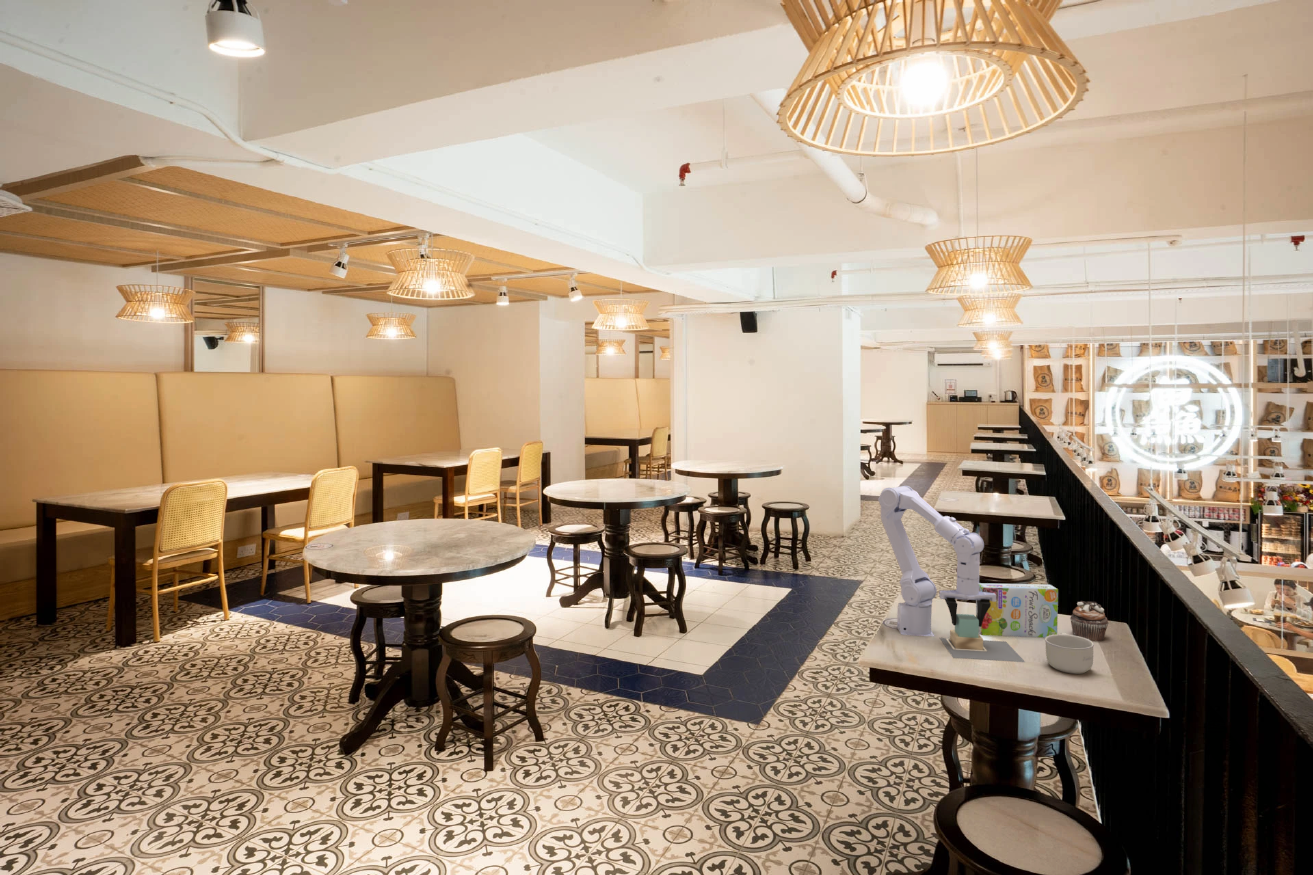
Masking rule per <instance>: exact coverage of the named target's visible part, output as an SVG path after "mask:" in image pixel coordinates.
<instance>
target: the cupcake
mask: <svg viewBox="0 0 1313 875" xmlns="http://www.w3.org/2000/svg"><path fill="white" fill-rule="evenodd" d="M1076 604H1077V606H1076V607H1075V608H1074V609H1073V610H1072V614H1071V615H1070V617H1069V619H1070V624H1071V629H1072V635H1074V636H1079V637H1083V638H1086V639H1089V640H1090V641H1092V642H1097V641H1099V642H1101V641H1104V640H1105V636H1106V631H1107V628H1108V626H1109V619H1108V618H1107V617H1106V615H1105V614H1106V613H1105V609H1104V608H1103V607H1102V605H1101V604H1098V603H1097V601H1083V600H1080V601H1077V603H1076Z"/></svg>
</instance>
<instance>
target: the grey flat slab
mask: <svg viewBox="0 0 1313 875" xmlns="http://www.w3.org/2000/svg"><path fill="white" fill-rule="evenodd" d="M939 639H940V641H941V642H942V643H943V645H944V647H945V648H946V650H947V652H948V653H949V654H950V655H951V657H952V658H953V659H963V660H964V659H965V660H966V659H967V660H980V661H981V660H983V661H996V662H998V661H999V662H1015V663H1016V662H1017V663H1026V660H1024V659H1023V658H1022V657H1021V655H1019V654H1018V653H1017V652H1016V650H1015V649H1014V648H1013V647H1012V646H1011V645H1010V644H1009V643H1008V642H1007V641H1004V640H1002V641H1001V640H986V639H983V650H973V649H956V648H955V646H954V645H953V644H952V642H951V641H950V637H948V638H947V637H939Z"/></svg>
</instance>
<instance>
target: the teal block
mask: <svg viewBox="0 0 1313 875" xmlns="http://www.w3.org/2000/svg"><path fill="white" fill-rule="evenodd" d="M956 619H957V623H956V625H954V630H955V632H956V633H957V635H958V636H959V637H970V638H978V634H980V633H979V620H978V619H977V618H976V615H975V614H966V613H962V614H961V613H956Z"/></svg>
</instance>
